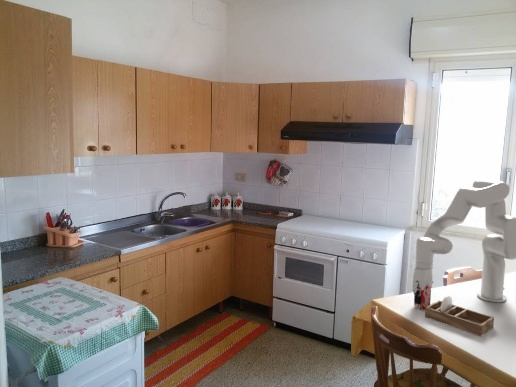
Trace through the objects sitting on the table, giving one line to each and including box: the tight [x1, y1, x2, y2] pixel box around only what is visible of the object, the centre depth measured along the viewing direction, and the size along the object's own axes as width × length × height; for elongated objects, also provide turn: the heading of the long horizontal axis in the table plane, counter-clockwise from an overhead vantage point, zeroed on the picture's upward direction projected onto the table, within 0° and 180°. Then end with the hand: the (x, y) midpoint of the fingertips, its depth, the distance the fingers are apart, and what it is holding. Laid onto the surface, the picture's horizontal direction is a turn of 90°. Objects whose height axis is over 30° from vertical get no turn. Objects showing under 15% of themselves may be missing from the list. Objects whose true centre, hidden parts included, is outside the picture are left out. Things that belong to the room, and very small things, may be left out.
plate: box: [440, 295, 453, 313], centre depth 191 cm, size 9×1×9 cm, turn 130°
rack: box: [424, 300, 495, 337], centre depth 187 cm, size 12×24×4 cm, turn 40°
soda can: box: [413, 284, 432, 311], centre depth 201 cm, size 7×7×12 cm
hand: (422, 301), depth 202 cm, fingers closed on soda can, 7 cm apart
